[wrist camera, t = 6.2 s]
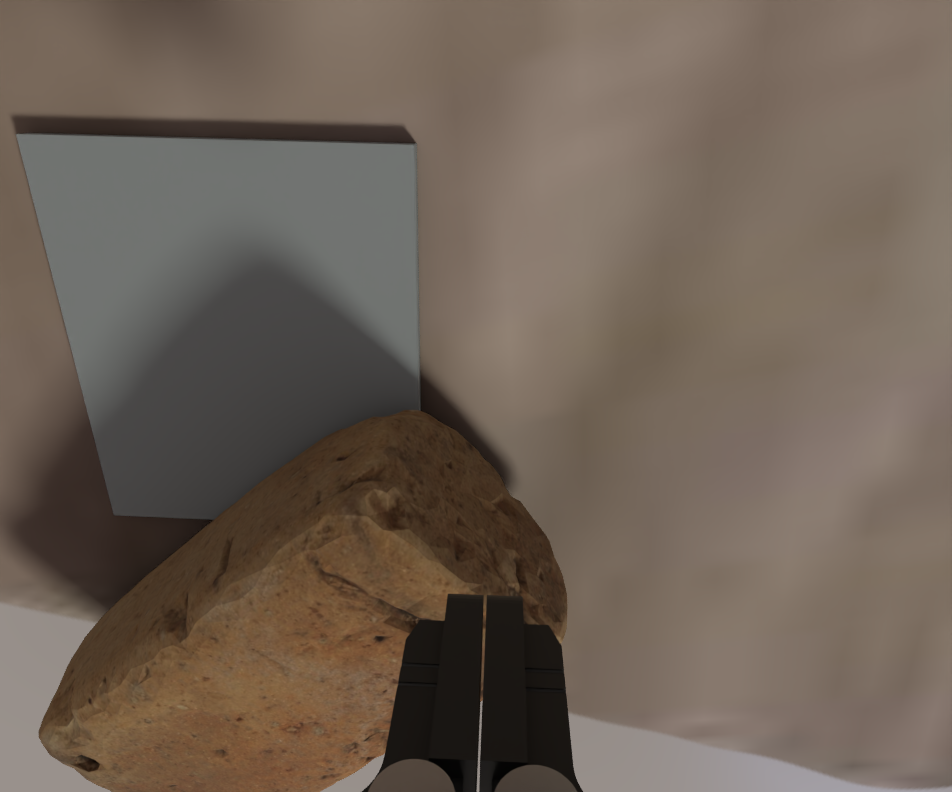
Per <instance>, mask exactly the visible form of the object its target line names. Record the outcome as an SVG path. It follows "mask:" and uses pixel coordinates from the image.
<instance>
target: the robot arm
mask: <svg viewBox="0 0 952 792" xmlns="http://www.w3.org/2000/svg"><path fill="white" fill-rule="evenodd" d="M483 604H484V595H471V594H448V596H447V604H446V613H445V621H440V620H419V622H418V623H417V625H416V626H415V627H414V629H413V630H412V632H411V633H410V634H409V636H408V637H407V638H406V641H405V647H404V652H403V658H402V666H401V669H400V674H399V680H398V686H397V691H396V696H395V702H394V707H393V713H392V718H391V724H390V729H389V735H388V740H387V746H386V751H385V757H384V760H383V764H382V767H381V769H380V771H379V773H378V774H377V776H376V777H375V779H374V780H373V781H372V782H371V784H370V785H369V786H368V787H367V788H366V789H364V790H363V791H362V792H476V789H477V766H478V742H479V719H480V697H481V673H482V641H483ZM479 792H583V791H582V789H581V788H580V786H579V784H578V782H577V779H576V777H575V773H574V768H573V760H572V749H571V740H570V728H569V718H568V708H567V698H566V687H565V677H564V667H563V656H562V646H561V644H560V643H559V641H558V639H557V638H556V636H555V634H554V633H553V631H552V629H551V628H550V626H549V625H537V624H524V620H523V597H522V596H499V595H487V604H486V629H485V655H484V680H483V706H482V732H481V756H480V791H479Z"/></svg>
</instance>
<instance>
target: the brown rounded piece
mask: <svg viewBox="0 0 952 792" xmlns="http://www.w3.org/2000/svg"><path fill="white" fill-rule="evenodd" d="M448 594H471V595H484V604H483V641H482V673H481V697H480V702H481V701H482V700H483V680H484V655H485V629H486V604H487V595H499V596H522V597H523V620H524V624H537V625H549V626H550V628H551V629H552V631H553V633H554V634H555V636H556V638H557V639H558V641H559V643H560V644H561V642H562V640H563V638H564V635H565V632H566V627H567V593H566V588H565V584H564V580H563V576H562V573H561V570H560V568H559V566H558V564H557V562H556V560H555V558H554V555H553V551H552V548H551V545H550V542H549V540H548V538H547V537H546V535H545V534H544V532H543V531H542V530H541V528H540V527H539V526H538V524H537V523H536V522H535V521H534V519H533V518H532V517H531V515H530V514H529V512H528V511H527V510H526V508H525V507H524V506H523V504H522V503H521V502H520V501H519V500H517V499H515V498H513V497H511V496H510V494H509V493H508V491H507V489H506V487H505V485H504V483H503V481H502V479H501V477H500V475H499V474H498V473H497V472H496V470H495V469H494V468H493V466H492V465H491V464H490V463H489V462H487V461H486V460H484V459H483V457H482V456H481V454H480V453H479V452H478V450H477V449H476V448H475V447H473V446H472V445H471V444H470V443H469V442H468V441H467V440H466V439H465V438H464V437H462V436H461V435H460V434H459V433H458V432H457V431H456V430H454V429H452V428H450V427H448V426H447V425H445V424H443V423H441V422H439V421H438V420H436V419H435V418H434V417H432V416H431V415H429V414H427V413H424V412H421V411H419V410H403V411H401V412H399V413H397V414H393V415H390V416H386V417H371V418H369V419H366V420H364V421H361V422H359V423H357V424H355V425H353V426H350V427H348V428H345V429H340V430H338V431H336V432H334V433H332V434H330V435H328V436H326V437H324V438H322V439H321V440H319V441H318V442H317V443H315V444H314V445H312V446H311V447H309V448H308V449H307V450H305V451H304V452H302V453H301V454H299V455H298V456H297V457H295V458H294V459H293V460H291V461H290V462H288V463H287V464H285V465H284V466H282V467H281V468H279V469H278V470H276V471H275V472H274V473H272V474H271V475H270V476H268V477H267V478H265V479H264V480H263V481H261V482H260V483H258V484H257V485H256V486H255V487H254V488H252V489H251V490H250V491H249V492H248V493H246V494H245V495H244V496H243V497H242V498H241V499H239V500H238V501H237V502H236V503H234V504H233V505H231V506H230V507H229V508H227V509H226V510H225V511H223V512H222V513H221V514H220V515H219V516H218V517H217V518H215V519H214V520H213V521H212V522H211V523H209V524H208V525H207V526H206V527H204V528H203V529H202V530H201V531H199V532H198V533H197V534H196V535H195V536H194V537H193V538H191V539H190V540H189V541H188V542H187V543H185V544H184V545H183V546H182V547H180V548H179V549H178V550H177V551H176V552H174V553H173V554H172V555H171V556H170V557H168V558H167V559H166V560H165V561H164V562H162V563H161V564H160V565H159V566H158V567H157V568H155V569H154V570H153V571H152V572H150V573H149V574H148V575H147V576H146V577H144V578H143V579H142V580H141V581H140V582H139V583H138V584H137V585H136V586H135V587H134V588H133V589H132V590H130V591H129V592H128V593H127V594H126V595H125V596H123V597H122V598H121V599H120V600H119V601H118V602H117V603H116V604H115V605H114V606H113V607H112V608H111V609H110V610H109V611H108V612H107V613H106V614H105V615H104V616H103V617H102V618H101V619H100V620H99V621H98V623H97V624H96V625H95V626H94V627H93V629H92V630H91V631H90V632H89V633H88V634H87V636H86V637H85V638H84V640H83V642H82V643H81V645H80V646H79V648H78V650H77V651H76V653H75V654H74V656H73V658H72V659H71V661H70V663H69V665H68V667H67V669H66V671H65V673H64V676H63V678H62V680H61V683H60V685H59V687H58V690H57V692H56V693H55V695H54V697H53V699H52V701H51V703H50V706H49V708H48V710H47V712H46V714H45V716H44V718H43V721H42V724H41V727H40V729H39V738H40V740H41V742H42V744H43V746H44V747H45V748H46V750H47V751H48V753H49V754H50V755H51V756H52V757H54V758H55V759H57V760H59V761H60V762H61V763H63V764H65V765H67V766H70V767H72V768H74V769H75V770H76V771H78V772H79V773H80V774H81V775H82V776H83V777H85V778H86V779H87V780H89V781H91V782H92V783H94V784H96V785H98V786H101V787H103V788H106V789H108V790H110V791H112V792H320V791H322V790H323V789H325V788H327V787H329V786H331V785H333V784H334V783H336V782H337V781H340V780H342V779H344V778H346V777H348V776H349V775H351V774H353V773H355V772H356V771H358V770H359V769H361V768H362V767H364V766H365V765H366V764H368V763H369V762H370V761H371V760H372V759H374V758H376V757H379V756H381V755H383V754H384V753H385V751H386V746H387V740H388V735H389V729H390V724H391V718H392V713H393V707H394V702H395V696H396V691H397V686H398V680H399V674H400V669H401V666H402V658H403V652H404V647H405V641H406V638H407V637H408V636H409V634H410V633H411V632H412V630H413V629H414V627H415V626H416V625H417V623H418V622H419V620H440V621H445V613H446V604H447V596H448Z"/></svg>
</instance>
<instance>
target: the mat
mask: <svg viewBox="0 0 952 792" xmlns="http://www.w3.org/2000/svg"><path fill="white" fill-rule="evenodd" d="M16 136H17V140H18V144H19V148H20V152H21V156H22V159H23V163H24V167H25V171H26V175H27V179H28V183H29V187H30V191H31V194H32V198H33V202H34V206H35V210H36V214H37V218H38V222H39V226H40V230H41V233H42V237H43V241H44V245H45V249H46V253H47V257H48V261H49V265H50V269H51V272H52V276H53V280H54V284H55V288H56V292H57V296H58V300H59V304H60V307H61V311H62V315H63V319H64V323H65V327H66V331H67V335H68V339H69V343H70V346H71V350H72V354H73V358H74V362H75V366H76V370H77V374H78V378H79V381H80V385H81V389H82V393H83V397H84V401H85V405H86V409H87V413H88V417H89V420H90V424H91V428H92V432H93V436H94V440H95V444H96V448H97V452H98V455H99V459H100V463H101V467H102V471H103V475H104V479H105V483H106V487H107V491H108V494H109V498H110V502H111V506H112V510H113V514H114V515H118V516H140V517H163V518H185V519H208V520H214V519H215V518H217V517H218V516H219V515H220V514H221V513H222V512H223V511H225V510H226V509H227V508H229V507H230V506H231V505H233V504H234V503H236V502H237V501H238V500H239V499H241V498H242V497H243V496H244V495H245V494H246V493H248V492H249V491H250V490H251V489H252V488H254V487H255V486H256V485H257V484H258V483H260V482H261V481H263V480H264V479H265V478H267V477H268V476H270V475H271V474H272V473H274V472H275V471H276V470H278V469H279V468H281V467H282V466H284V465H285V464H287V463H288V462H290V461H291V460H293V459H294V458H295V457H297V456H298V455H299V454H301V453H302V452H304V451H305V450H307V449H308V448H309V447H311V446H312V445H314V444H315V443H317V442H318V441H319V440H321V439H322V438H324V437H326V436H328V435H330V434H332V433H334V432H336V431H338V430H340V429H345V428H348V427H350V426H353V425H355V424H357V423H359V422H361V421H364V420H366V419H369V418H371V417H386V416H390V415H393V414H397V413H399V412H401V411H403V410H419V411H421V397H420V332H419V266H418V201H417V143H386V142H349V141H312V140H275V139H238V138H202V137H165V136H128V135H91V134H54V133H21V134H16Z"/></svg>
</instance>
